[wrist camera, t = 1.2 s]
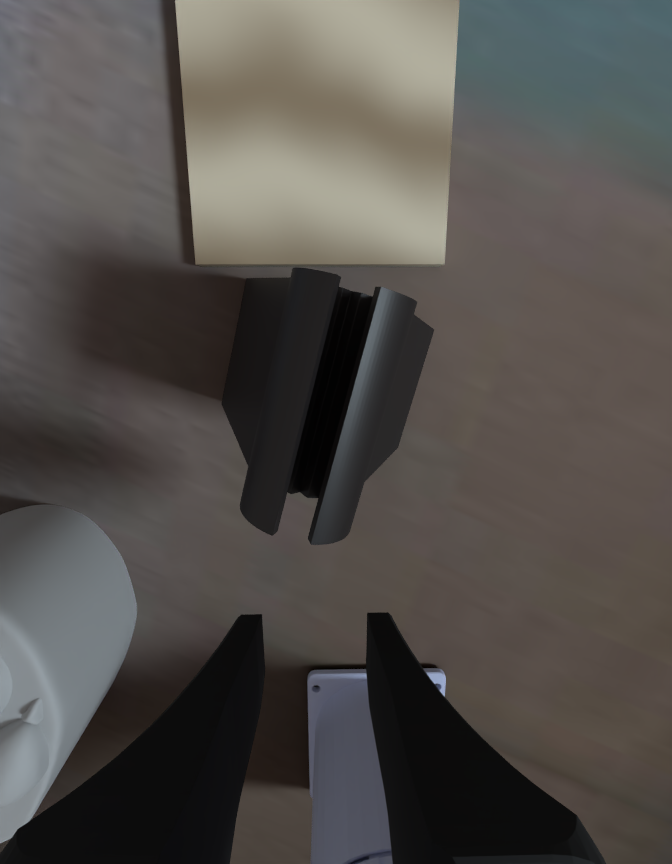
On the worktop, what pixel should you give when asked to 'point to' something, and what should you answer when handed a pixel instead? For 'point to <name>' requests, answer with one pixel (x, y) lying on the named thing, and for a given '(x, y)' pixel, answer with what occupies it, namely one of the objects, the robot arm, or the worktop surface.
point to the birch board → (318, 130)
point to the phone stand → (319, 393)
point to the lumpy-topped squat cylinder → (54, 645)
